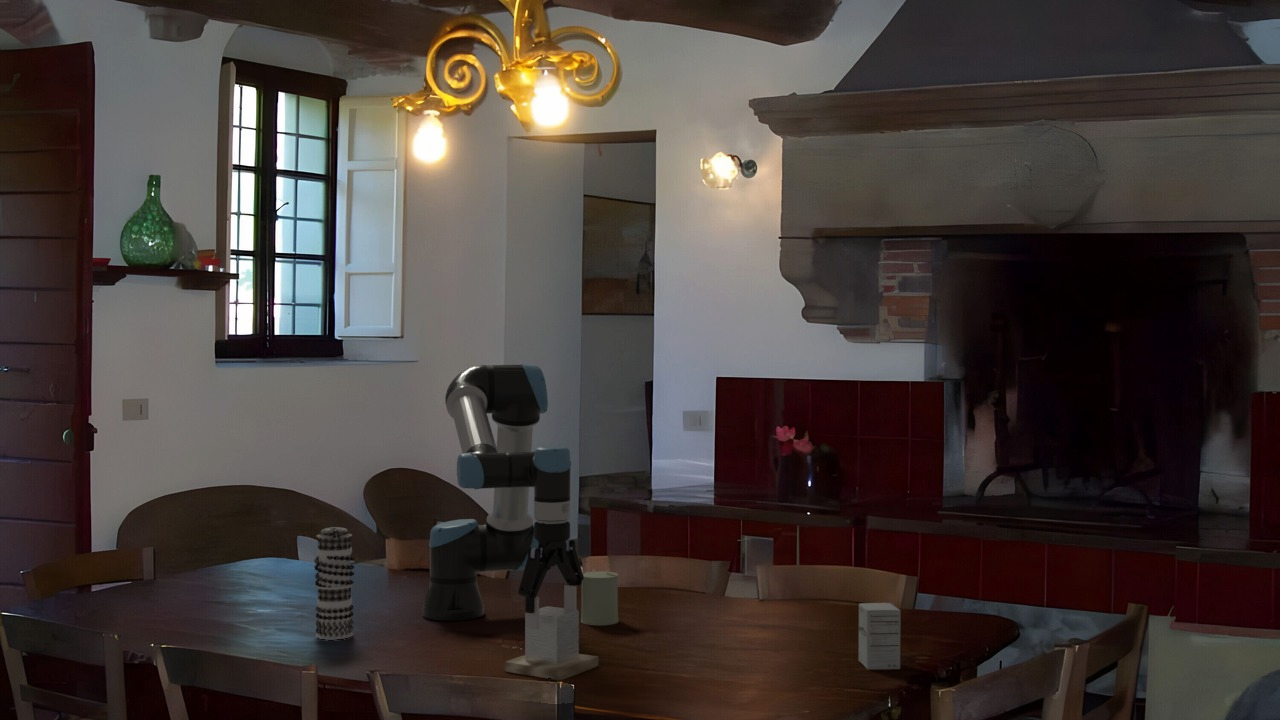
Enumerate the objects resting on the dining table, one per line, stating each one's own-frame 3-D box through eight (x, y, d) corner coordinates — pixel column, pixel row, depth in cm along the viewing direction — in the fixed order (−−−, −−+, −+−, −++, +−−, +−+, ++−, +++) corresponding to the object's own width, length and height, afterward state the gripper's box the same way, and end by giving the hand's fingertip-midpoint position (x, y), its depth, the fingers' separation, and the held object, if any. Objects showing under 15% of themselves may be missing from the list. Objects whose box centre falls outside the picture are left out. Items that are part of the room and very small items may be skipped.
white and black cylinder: (362, 633, 312) (362, 526, 312) (341, 642, 303) (341, 532, 303) (328, 630, 315) (328, 524, 315) (306, 639, 306) (306, 530, 306)
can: (613, 626, 320) (613, 576, 320) (576, 624, 322) (576, 575, 322) (622, 618, 329) (622, 570, 329) (585, 616, 331) (585, 568, 331)
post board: (504, 671, 277) (504, 628, 277) (544, 657, 289) (544, 616, 289) (560, 680, 270) (560, 636, 270) (598, 666, 282) (598, 623, 282)
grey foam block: (525, 660, 278) (525, 612, 278) (547, 652, 285) (547, 606, 285) (556, 665, 274) (556, 617, 274) (578, 657, 281) (578, 610, 281)
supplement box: (857, 661, 286) (857, 602, 286) (891, 660, 287) (891, 602, 287) (866, 670, 279) (866, 609, 279) (901, 669, 279) (901, 609, 279)
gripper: (531, 530, 266) (531, 636, 267) (600, 514, 288) (599, 612, 288) (501, 527, 270) (501, 631, 271) (571, 512, 291) (570, 608, 292)
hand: (551, 622), depth 280 cm, fingers open, 13 cm apart
